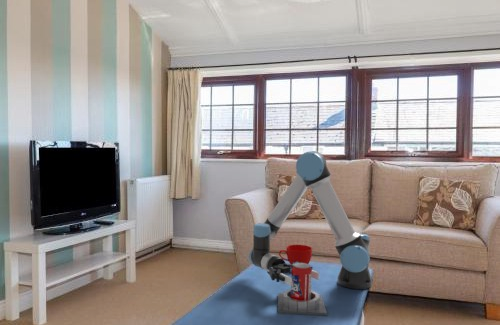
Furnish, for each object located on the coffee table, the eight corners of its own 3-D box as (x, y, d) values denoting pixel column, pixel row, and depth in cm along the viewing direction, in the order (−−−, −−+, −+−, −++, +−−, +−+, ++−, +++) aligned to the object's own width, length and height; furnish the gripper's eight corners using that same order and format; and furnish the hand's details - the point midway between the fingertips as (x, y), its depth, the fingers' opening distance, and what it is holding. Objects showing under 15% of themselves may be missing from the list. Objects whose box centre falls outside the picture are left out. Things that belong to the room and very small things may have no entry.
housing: (321, 297, 173) (321, 288, 173) (326, 315, 155) (327, 305, 155) (277, 295, 174) (278, 286, 174) (278, 313, 156) (278, 302, 156)
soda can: (313, 306, 161) (314, 267, 161) (293, 306, 160) (294, 268, 159) (307, 298, 169) (308, 261, 168) (288, 299, 168) (289, 262, 167)
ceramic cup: (276, 263, 220) (277, 244, 220) (308, 263, 222) (308, 244, 221) (281, 271, 207) (281, 251, 207) (314, 270, 209) (315, 251, 209)
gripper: (296, 269, 187) (328, 283, 169) (248, 277, 174) (278, 294, 156) (296, 252, 187) (329, 265, 169) (249, 259, 174) (279, 274, 156)
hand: (305, 279), depth 162 cm, fingers open, 13 cm apart
